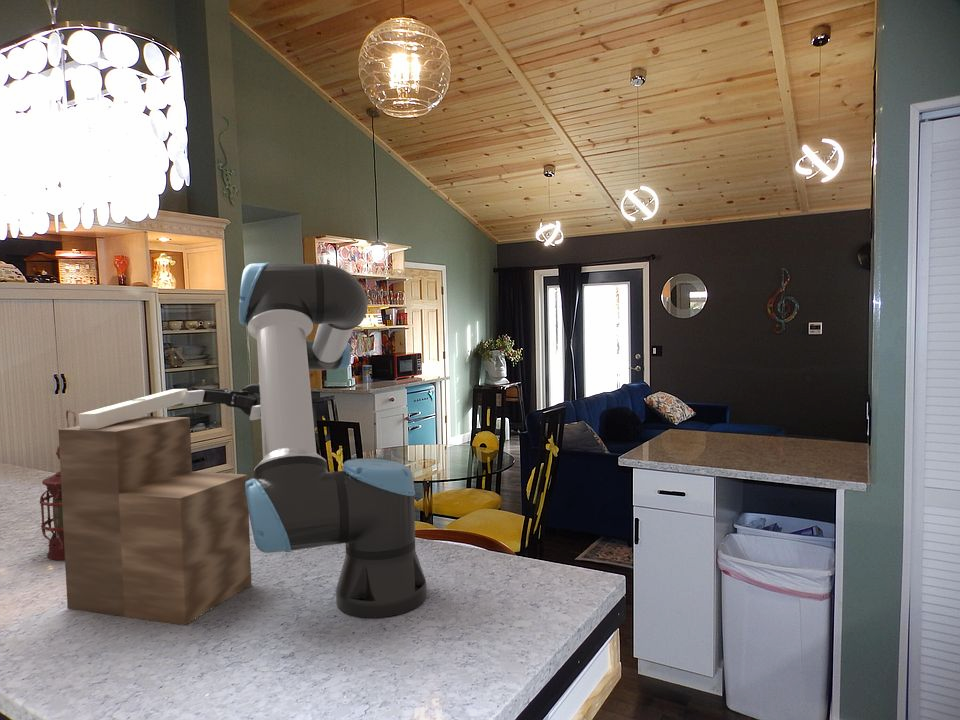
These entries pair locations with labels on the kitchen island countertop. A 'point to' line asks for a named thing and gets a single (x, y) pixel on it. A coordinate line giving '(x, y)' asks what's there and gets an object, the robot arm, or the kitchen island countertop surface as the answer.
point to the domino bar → (130, 409)
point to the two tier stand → (149, 523)
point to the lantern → (54, 510)
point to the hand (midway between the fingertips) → (219, 405)
